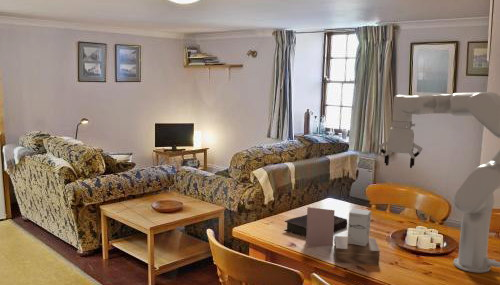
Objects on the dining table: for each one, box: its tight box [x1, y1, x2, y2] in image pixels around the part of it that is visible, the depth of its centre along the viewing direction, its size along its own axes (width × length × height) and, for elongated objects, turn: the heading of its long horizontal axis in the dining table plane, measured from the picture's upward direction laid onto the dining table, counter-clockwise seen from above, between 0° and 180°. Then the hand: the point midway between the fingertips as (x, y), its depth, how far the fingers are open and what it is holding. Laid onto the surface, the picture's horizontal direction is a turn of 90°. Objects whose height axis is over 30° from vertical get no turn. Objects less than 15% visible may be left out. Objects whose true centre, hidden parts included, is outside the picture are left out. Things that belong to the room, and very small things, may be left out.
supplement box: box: [347, 208, 372, 246], centre depth 185 cm, size 7×7×13 cm
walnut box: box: [333, 235, 381, 266], centre depth 186 cm, size 16×14×6 cm
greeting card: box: [305, 207, 335, 248], centre depth 197 cm, size 11×7×15 cm, turn 70°
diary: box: [283, 214, 348, 237], centre depth 219 cm, size 19×25×5 cm
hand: (399, 166), depth 198 cm, fingers open, 9 cm apart
